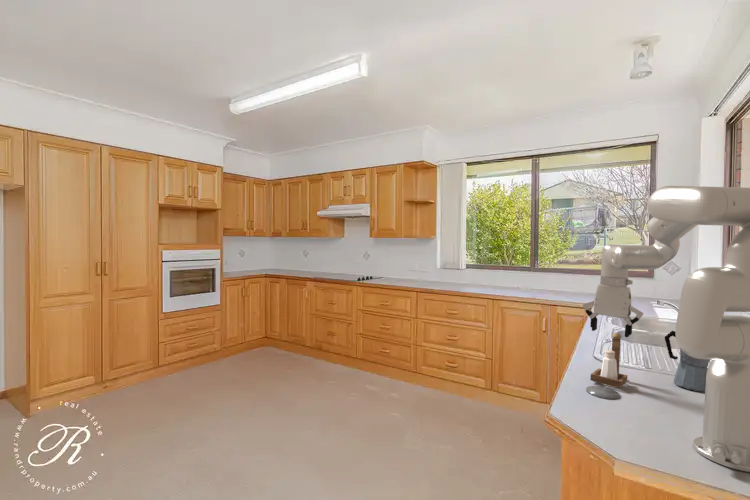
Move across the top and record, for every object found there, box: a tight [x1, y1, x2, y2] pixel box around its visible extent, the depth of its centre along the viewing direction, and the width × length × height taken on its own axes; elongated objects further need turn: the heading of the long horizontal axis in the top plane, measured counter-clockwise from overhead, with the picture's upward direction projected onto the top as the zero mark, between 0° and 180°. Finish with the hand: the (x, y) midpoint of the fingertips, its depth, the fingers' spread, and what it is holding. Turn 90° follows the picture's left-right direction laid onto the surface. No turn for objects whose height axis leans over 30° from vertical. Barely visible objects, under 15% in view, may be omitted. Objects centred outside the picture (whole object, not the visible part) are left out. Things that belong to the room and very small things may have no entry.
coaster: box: [585, 385, 621, 400], centre depth 119 cm, size 9×9×1 cm
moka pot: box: [664, 330, 711, 393], centre depth 126 cm, size 10×15×20 cm, turn 78°
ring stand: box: [590, 332, 628, 389], centre depth 129 cm, size 14×9×16 cm, turn 134°
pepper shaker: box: [600, 349, 618, 388], centre depth 127 cm, size 5×5×11 cm
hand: (610, 333), depth 127 cm, fingers open, 9 cm apart
